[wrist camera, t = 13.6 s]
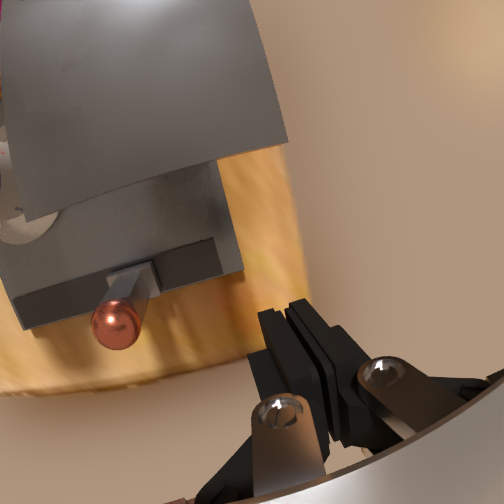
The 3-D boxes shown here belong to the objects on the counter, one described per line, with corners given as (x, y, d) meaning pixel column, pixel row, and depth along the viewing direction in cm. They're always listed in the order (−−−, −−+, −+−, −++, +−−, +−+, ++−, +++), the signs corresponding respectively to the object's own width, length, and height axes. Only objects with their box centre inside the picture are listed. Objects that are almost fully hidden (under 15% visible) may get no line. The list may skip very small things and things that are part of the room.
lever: (121, 304, 21) (94, 365, 14) (108, 270, 20) (71, 319, 13) (163, 292, 21) (151, 352, 14) (150, 257, 21) (130, 303, 13)
